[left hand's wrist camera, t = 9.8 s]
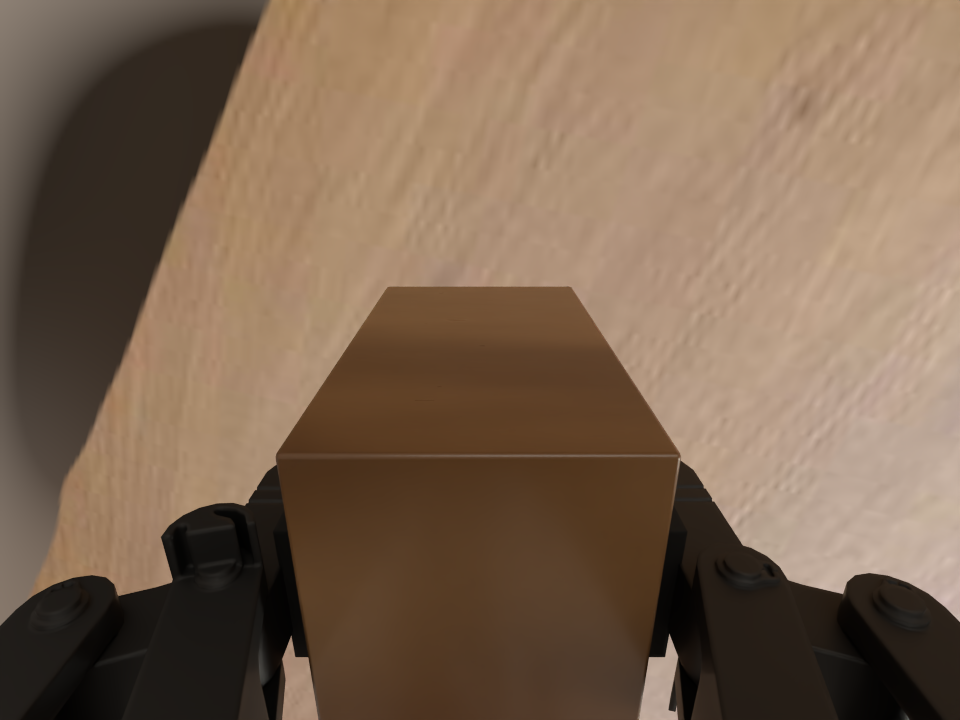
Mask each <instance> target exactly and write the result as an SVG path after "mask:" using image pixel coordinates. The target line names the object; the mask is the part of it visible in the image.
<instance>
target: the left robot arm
mask: <svg viewBox="0 0 960 720" xmlns="http://www.w3.org/2000/svg"><path fill="white" fill-rule="evenodd" d="M703 486H704V485H703V484H702V482H701V481H700V479H699V478H698V476H697V475H696V473H695V472H694V470H693V469H691V468H690V467H689V466H687V465H686V464H685V463H683V462H682V461H680V467H679V473H678V479H677V485H676V492H675V498H674V504H673V510H672V516H671V523H670V529H669V535H668V541H667V548H666V554H665V560H664V566H663V572H662V579H661V585H660V591H659V597H658V603H657V610H656V616H655V622H654V628H653V635H652V641H651V647H650V653H649V657H665V654H666V648H667V643H668V637H669V634H670V636H671V639H672V641H673V644H674V647H675V649H676V652H677V654H678V661H677V667H676V672H675V677H674V682H673V687H672V692H671V698H670V704H669V710H670V711H674V712H675V711H676V706H677V712H678V720H960V622H959V621H958V620H957V619H956V618H955V617H954V616H953V615H952V614H951V613H950V612H949V611H948V610H947V609H946V608H945V607H944V606H943V605H942V604H940V603H939V602H938V601H937V600H935V599H934V598H933V597H932V596H930V595H929V594H928V593H926V592H924V591H922V590H921V589H919V588H917V587H915V586H913V585H911V584H910V583H907V582H904V581H902V580H899V579H896V578H893V577H890V576H886V575H879V574H872V573H867V574H861V575H855V576H854V577H853V578H852V579H850V580H849V581H848V582H847V584H846V587H845V590H844V593H843V594H840V593H836V592H831V591H827V590H823V589H818V588H814V587H810V586H805V585H802V584H798V583H795V582H792V581H789V580H787V578H786V576H785V575H784V573H783V572H782V570H781V568H780V567H779V566H778V565H777V564H775V563H774V562H773V561H772V560H771V559H770V558H768V557H767V556H766V555H764V554H762V553H760V552H758V551H756V550H754V549H752V548H749V547H746V546H743V545H742V544H741V542H740V540H739V539H738V537H737V536H736V534H735V533H734V531H733V530H732V528H731V527H730V525H729V524H728V522H727V521H726V519H725V518H724V516H723V514H722V513H721V511H720V510H719V508H718V507H717V505H716V504H715V502H712V498H711V496H710V495H709V493H708V492H707V490H706V489H704V487H703ZM161 539H162V542H163V546H164V549H165V553H166V557H167V560H168V564H169V567H170V571H171V575H172V578H173V581H172V583H169V584H166V585H163V586H159V587H156V588H151V589H147V590H143V591H138V592H134V593H130V594H125V595H121V596H118V595H117V592H116V589H115V586H114V584H113V583H112V582H111V581H109V580H108V579H107V578H106V577H99V576H93V575H90V576H83V577H76V578H72V579H69V580H66V581H63V582H60V583H57V584H54V585H52V586H50V587H48V588H47V589H45V590H43V591H41V592H39V593H37V594H36V595H34V596H32V597H31V598H30V599H29V600H27V601H26V602H25V603H24V604H23V605H21V606H20V607H19V608H18V609H16V610H15V611H14V613H12V615H10V617H9V618H8V619H7V620H6V621H5V622H4V623H3V624H2V625H1V626H0V720H282V714H283V702H284V691H285V673H284V667H283V661H282V658H283V655H284V653H285V650H286V648H287V645H288V642H289V640H290V637H291V635H292V641H293V646H294V652H295V657H308V651H307V645H306V639H305V633H304V627H303V621H302V615H301V609H300V603H299V597H298V591H297V585H296V578H295V572H294V566H293V560H292V554H291V548H290V542H289V536H288V530H287V524H286V518H285V511H284V505H283V499H282V493H281V487H280V481H279V475H278V469H277V465H276V466H274V467H273V468H272V469H270V470H269V471H268V472H267V473H266V474H265V476H264V477H263V479H262V481H261V482H260V484H259V485H258V487H257V490H255V491H254V493H253V494H252V496H251V497H250V499H249V503H247V504H246V505H245V506H243V505H239V504H235V503H219V504H213V505H209V506H205V507H201V508H198V509H196V510H194V511H192V512H190V513H187V514H185V515H183V516H182V517H180V518H179V519H178V520H176V521H175V522H174V523H172V524H171V525H170V526H169V527H168V528H167V530H166V531H165V532H164V534H163V535H162V536H161Z"/></svg>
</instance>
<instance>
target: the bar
mask: <svg viewBox="0 0 960 720" xmlns="http://www.w3.org/2000/svg"><path fill="white" fill-rule="evenodd" d="M680 460H681V455H680V453H679V451H678V450H677V448H676V447H675V445H674V444H673V442H672V441H671V439H670V438H669V436H668V434H667V433H666V431H665V430H664V428H663V427H662V425H661V424H660V422H659V421H658V419H657V418H656V416H655V415H654V413H653V412H652V410H651V408H650V407H649V405H648V404H647V402H646V401H645V399H644V398H643V396H642V395H641V393H640V392H639V390H638V389H637V387H636V386H635V384H634V383H633V381H632V379H631V378H630V376H629V375H628V373H627V372H626V370H625V369H624V367H623V366H622V364H621V363H620V361H619V360H618V358H617V357H616V355H615V353H614V352H613V350H612V349H611V347H610V346H609V344H608V343H607V341H606V340H605V338H604V337H603V335H602V334H601V332H600V331H599V329H598V327H597V326H596V324H595V323H594V321H593V320H592V318H591V317H590V315H589V314H588V312H587V311H586V309H585V308H584V306H583V305H582V303H581V302H580V300H579V298H578V297H577V295H576V294H575V292H574V291H573V289H572V288H571V287H388V288H387V289H386V290H385V292H384V293H383V295H382V296H381V298H380V299H379V301H378V302H377V304H376V305H375V307H374V308H373V310H372V311H371V313H370V314H369V316H368V317H367V319H366V320H365V322H364V323H363V325H362V326H361V328H360V329H359V331H358V332H357V334H356V335H355V337H354V338H353V340H352V341H351V343H350V344H349V346H348V347H347V349H346V350H345V352H344V353H343V355H342V356H341V358H340V359H339V361H338V362H337V364H336V365H335V367H334V368H333V370H332V371H331V373H330V374H329V376H328V377H327V379H326V380H325V382H324V383H323V385H322V386H321V388H320V389H319V391H318V392H317V394H316V395H315V397H314V398H313V400H312V401H311V403H310V404H309V406H308V407H307V409H306V410H305V412H304V413H303V415H302V416H301V418H300V419H299V421H298V422H297V424H296V425H295V427H294V428H293V430H292V431H291V433H290V434H289V436H288V437H287V439H286V440H285V442H284V443H283V445H282V446H281V448H280V449H279V451H278V452H277V454H276V463H277V469H278V475H279V481H280V487H281V493H282V499H283V505H284V511H285V518H286V524H287V530H288V536H289V542H290V548H291V554H292V560H293V566H294V572H295V578H296V585H297V591H298V597H299V603H300V609H301V615H302V621H303V627H304V633H305V639H306V645H307V651H308V658H309V664H310V670H311V676H312V682H313V688H314V694H315V700H316V706H317V712H318V718H319V720H639V715H640V709H641V703H642V697H643V690H644V684H645V678H646V672H647V666H648V659H649V653H650V647H651V641H652V635H653V628H654V622H655V616H656V610H657V603H658V597H659V591H660V585H661V579H662V572H663V566H664V560H665V554H666V548H667V541H668V535H669V529H670V523H671V516H672V510H673V504H674V498H675V492H676V485H677V479H678V473H679V467H680Z"/></svg>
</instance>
